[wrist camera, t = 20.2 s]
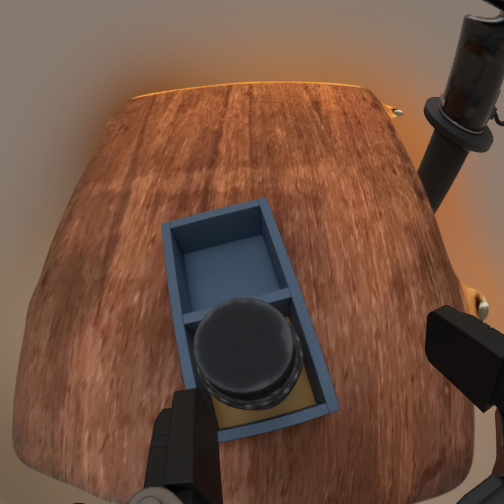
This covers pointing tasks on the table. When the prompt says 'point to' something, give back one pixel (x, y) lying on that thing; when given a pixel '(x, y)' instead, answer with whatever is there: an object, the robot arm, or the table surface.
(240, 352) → the pill bottle
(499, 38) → the robot arm
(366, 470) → the table surface
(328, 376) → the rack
